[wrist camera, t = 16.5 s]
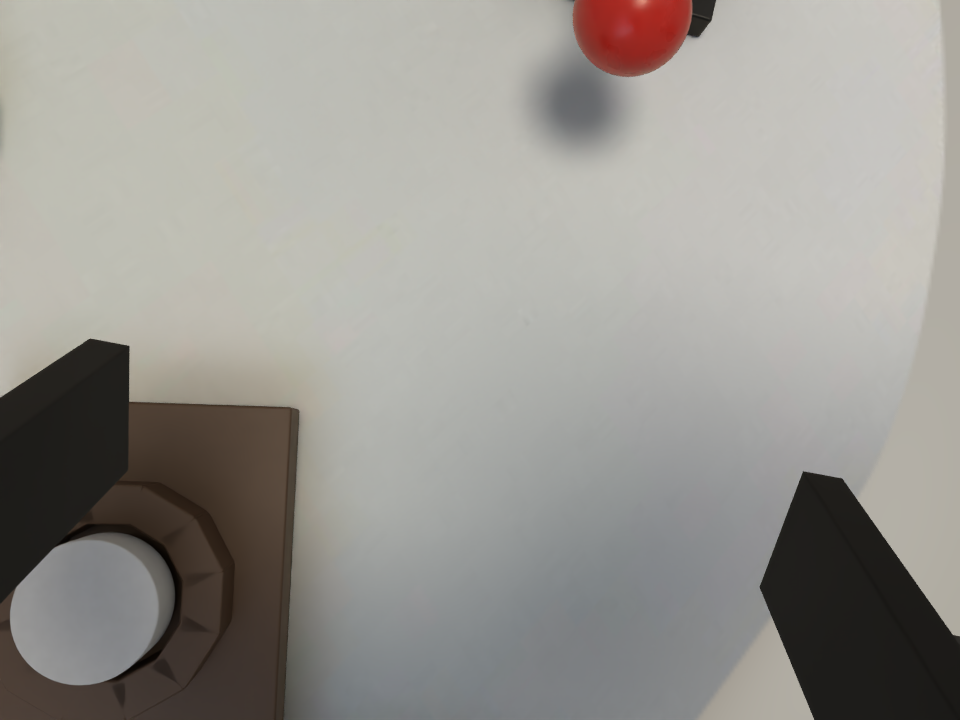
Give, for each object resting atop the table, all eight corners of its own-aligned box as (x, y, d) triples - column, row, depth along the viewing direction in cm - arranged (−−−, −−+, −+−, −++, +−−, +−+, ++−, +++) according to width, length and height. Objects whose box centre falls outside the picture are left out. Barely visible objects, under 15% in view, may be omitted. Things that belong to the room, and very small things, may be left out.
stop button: (171, 667, 24) (153, 685, 22) (31, 667, 24) (3, 686, 22) (179, 532, 24) (163, 540, 23) (42, 530, 24) (15, 538, 22)
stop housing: (281, 756, 28) (263, 810, 24) (-26, 760, 26) (-99, 818, 23) (299, 409, 29) (284, 405, 25) (6, 399, 28) (-58, 393, 24)
